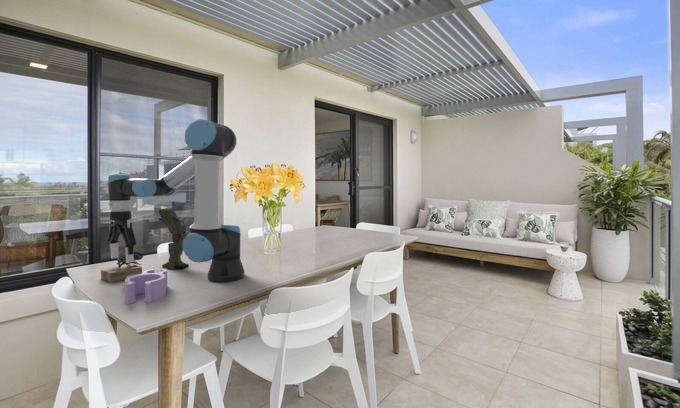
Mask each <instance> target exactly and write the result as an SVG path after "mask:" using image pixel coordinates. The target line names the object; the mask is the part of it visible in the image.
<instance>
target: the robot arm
mask: <svg viewBox="0 0 680 408" xmlns="http://www.w3.org/2000/svg"><path fill="white" fill-rule="evenodd" d="M183 135H184V136H183V139H184V142H185V144H186V145H187V147H188V148H189V149H190V156H189V157H188V158H186V159H185V160H183V161H182V162H181V163H180V164H178V165H177V166H176V167H174V168H172V170H170V171H169V172H167V173H165V174H164V175H163V176H161V177H160V178H158V179H157V178H131V177H130V176H131V175H130V174H127V173H125V174H124V173H111V174H109V175H108V178H107V179H108V180H107V182H108V183H107V186H108V203H107V205H108V206H109V207H108V208H109V220H110V223H109V225H110V227H109V232H108V236H107V242H109V244H110V245H109V246H110V258H111V260H113V259H117V257H118V256H120V255H119V254H120V253H119V238H120V235H121V236H122V238H123V240H124V243H125V246H124V248H125V255H126V263H129V262H134V252H135V251H134V247H135V246H136V245H137V240H136V237H135V233H134V229H133V225H132V222H128V220H131V219H132V211H131V209H132V200H131V197H132V198H133V197H136V198H137V197H138V198H148V197H150V198H151V197H169V196H174V195H175V194H177V192H178V191H179V190H178V189H179V187H181V186H182V185H184V184H185V183H186V182H188V181H189V180H191V179H192V178H193V177H194V199H193V201H194V205H193V206H194V209H193V223H192V224H191V225H189V233H187V236H186V238H184V240H183V253H184V255H185V256H186V257H188V259H189V260H190V261H191V262H193V263H204V262H205V263H207V262H209V261H211V262H210V267H209V269H208V272H207V280H208V281H210V282H216V283H227V282H228V283H229V282H233V281H239V280H241V279H243V278H244V277H245V269H244V266H243V263H242V260H241V228H240V226H238V225H231V224H230V225H229V224H221V223H219V189H220V188H219V184H220V183H219V181H220V179H219V177H220V161H222V160H223V159H225V158H227V157H228V156H229V155H230V154H232V153H233V151H234V150H235V148H236V146H237V137H236V134H235V132H234V131H233V130H232V129H231V127H229V126H226V125H224V124H220V123H218V122H215V121H214V122H213V121H212V120H208V119H201V118H200V119H195V120H193V121H191V122H190V123H189V124H188V125H187V126H186V128H185V131H184V134H183Z"/></svg>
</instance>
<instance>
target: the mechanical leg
mask: <svg viewBox="0 0 680 408" xmlns="http://www.w3.org/2000/svg"><path fill="white" fill-rule="evenodd" d="M158 214H159V218H158V220H159V221H161V222H163V224H165V225H166V228H167V229H168V231H169V232H170V234H171V235H172V237H171V239H172V242H169V243H168V245H167V246H168V248H167V250H168V254H169V255H168V256H169V257H168V260H167V262H166V263H163V264H162V265H161V269H167V270H168V269H169V270H184V269H187V268H189V264H188V263H185V262H184V261H182V259H181V256H182V255H183V253H184V251H183V240H184V238H186V236H187V235H188V233H187V231H186V230H187V227H186V226H187V225H186V224H185V222H184V220H182V219H181V218H180V217H178V215H177V213H176V211H175V210H174V209H173V208H171V207H166V208H165V209H163V208H162V209H159V210H158Z"/></svg>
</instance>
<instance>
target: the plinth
mask: <svg viewBox="0 0 680 408" xmlns="http://www.w3.org/2000/svg"><path fill="white" fill-rule="evenodd" d="M130 265H131V268H130V267H129V266H128V265H126V264H124V265H122V266H121V267H120V268H118V266H114V267H108V268H102V269H100V280H103V281H105V282H108V283H110V284H111V283H116V282H120V281H125V279H126V276H128V275H133V274H142V272H143V266H141V265H138V264H133V263H130Z"/></svg>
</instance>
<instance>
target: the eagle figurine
mask: <svg viewBox="0 0 680 408" xmlns="http://www.w3.org/2000/svg"><path fill="white" fill-rule="evenodd" d="M143 258H144V255H143V254H142V253H141V252H138V251H134V262H129V263H126V254H125V255H124V256H123V257H121V256H120V255H119V256H118V257H117V258H115V260H116V261H117V262H116V264H117V265H118V266H117V267H118V268H120V267H121V266H124V265H128V266H129V267H130V268H131V265H130V264H134V265H137V266H142V264H140V263H139V262H137V261H140V260H143Z"/></svg>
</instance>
